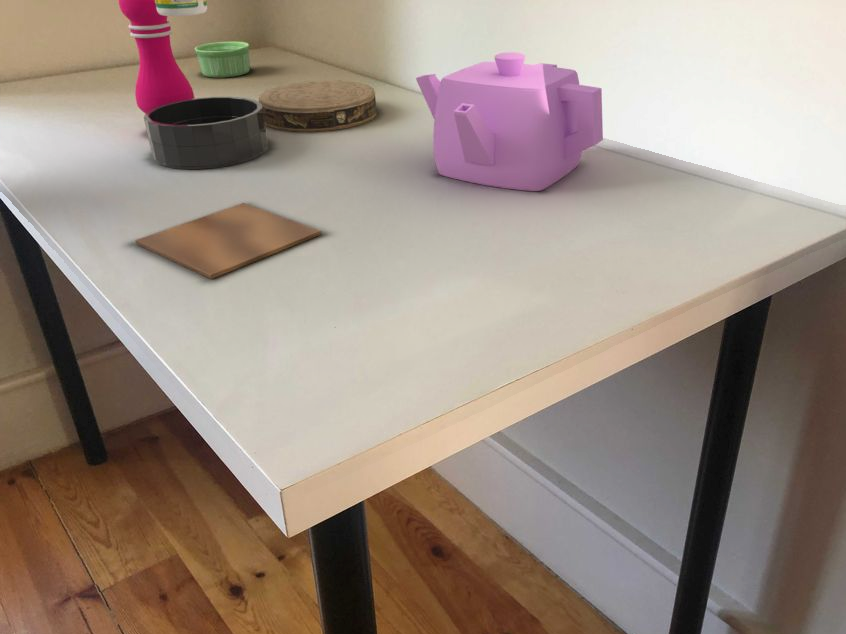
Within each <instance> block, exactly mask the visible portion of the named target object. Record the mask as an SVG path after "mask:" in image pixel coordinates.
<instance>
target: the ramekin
mask: <svg viewBox="0 0 846 634" xmlns="http://www.w3.org/2000/svg"><path fill="white" fill-rule="evenodd" d="M194 52H195V54H196V57H197V60H198V63H199V67H200V71H201V73H202V75H203V76H205V77H207V78H216V79H221V78H222V79H223V78H233V77H239V76H242V75H245V74H248V73H249V72H250V70H251V63H250V44H249V43H248V42H246V41H245V42H244V41H233V40H232V41H217V42H209V43H204V44H200V45H197V46H195V47H194Z"/></svg>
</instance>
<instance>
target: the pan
mask: <svg viewBox="0 0 846 634" xmlns="http://www.w3.org/2000/svg"><path fill="white" fill-rule="evenodd" d="M143 121H144V126H145V130H146V134H147V138H148V142H149V147H150V152H151V156H152V158H153V160H154V162H155V163H156V164H158V165H160V166H162V167H166V168H171V169H177V170H206V169H207V170H208V169H217V168H224V167H225V168H226V167H230V166H234V165H235V166H236V165H240V164H243V163H246V162H249V161H253V160H254V159H257V158H258V157H261V156H262V155H264V154H265V153H266V152H267V150H268V149H269V142H268V135H267V128H266V125H265V121H264V115H263V108H262V104H261V103H259V100H256V99H251V98H248V97H242V96H241V97H240V96H205V97H195V98H194V99H187V100H181V101H176V102H172V103H168V104H164V105H161V106H158V107H155V108H153V109H151V110H150V111H148V112H146V113H144V116H143Z"/></svg>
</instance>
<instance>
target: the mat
mask: <svg viewBox="0 0 846 634" xmlns="http://www.w3.org/2000/svg"><path fill="white" fill-rule="evenodd" d="M321 235H322V232H321V230H319V229H317V228H313V227H311V226H308V225H305V224H303V223H300V222H297V221H294V220H292V219H288V218H286V217H283V216H280V215H278V214H275V213H272V212H269V211H268V210H267V211H266V210H265V209H261V208H259V207H256V206H253V205H250V204H247V203H244V202H242V203H240V204H236V205H233V206H231V207H227V208H225V209H222V210H219V211H217V212H213V213H211V214H208V215H205V216H202V217H198V218H196V219H194V220H191V221H190V220H189V221H186V222H184V223H181V224H179V225H175V226H173V227H170V228H167V229H163V230H161V231H159V232H155V233H152V234H150V235H147V236H143V237H141V238H137V239H135V244H136V245H137V246H139V247H142V248H144V249H147V250H148V251H151V252H153V253H155V254H157V255H159V256H161V257H162V258H163V257H164V258H165V259H168V260H170V261H172V262H174V263H176V264H178V265H180V266H183V267H184V268H187V269H189V270H191V271H194V272H195V273H197V274H199V275H201V276H204V277H206V278H208V279H210V280H213V279H215V278H218V277H220V276H223V275H225V274H228V273H230V272H233V271H236V270H238V269H241V268H242V267H243V268H244V267H245V266H247V265H250V264H252V263H255V262H257V261H260V260H262V259H265V258H267V257H270V256H272V255H274V254H277V253H280V252H282V251H285V250H287V249H289V248H292V247H294V246H296V245H297V246H298V245H299V244H302V243H304V242H307V241H308V240H311V239H314V238H316V237H318V236H321Z"/></svg>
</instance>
